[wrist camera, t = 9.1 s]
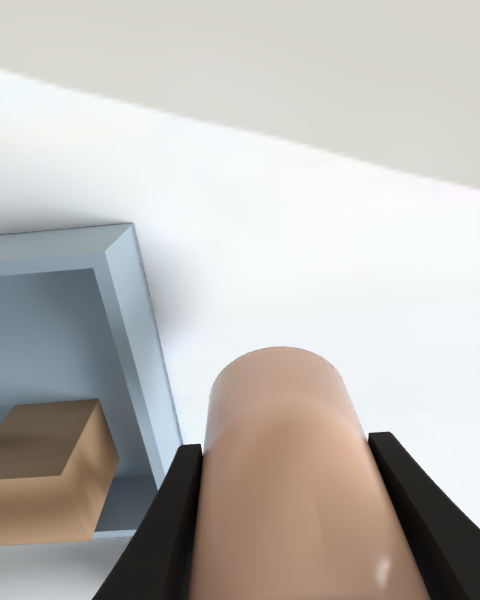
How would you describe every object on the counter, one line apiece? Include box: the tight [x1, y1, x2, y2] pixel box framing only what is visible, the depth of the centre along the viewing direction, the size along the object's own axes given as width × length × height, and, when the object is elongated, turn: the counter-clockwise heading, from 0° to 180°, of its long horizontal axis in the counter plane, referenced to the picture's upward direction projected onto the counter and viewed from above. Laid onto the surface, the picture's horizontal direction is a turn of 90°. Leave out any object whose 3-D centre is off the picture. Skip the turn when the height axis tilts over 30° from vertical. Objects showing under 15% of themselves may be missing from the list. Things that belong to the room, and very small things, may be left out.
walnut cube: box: [0, 399, 120, 546], centre depth 20 cm, size 5×5×5 cm
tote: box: [0, 223, 183, 538], centre depth 19 cm, size 17×13×4 cm
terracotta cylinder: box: [188, 347, 431, 600], centre depth 10 cm, size 5×5×7 cm
